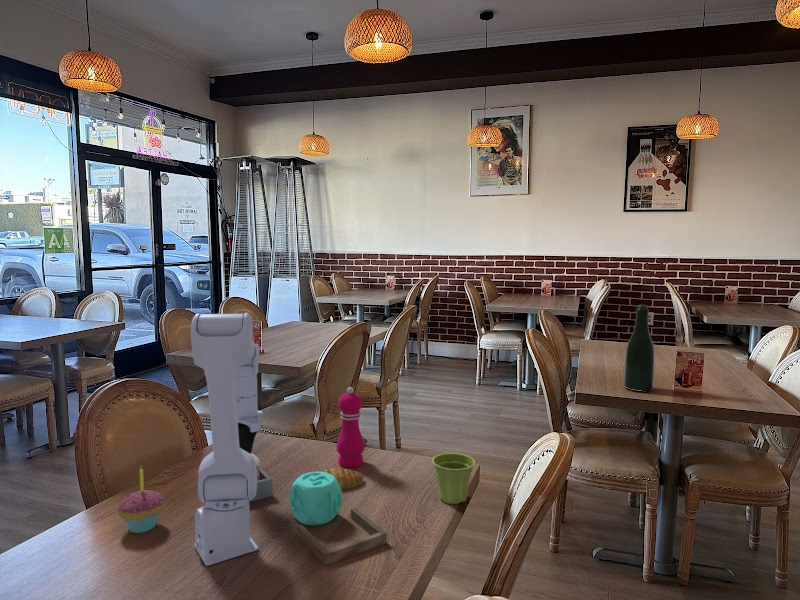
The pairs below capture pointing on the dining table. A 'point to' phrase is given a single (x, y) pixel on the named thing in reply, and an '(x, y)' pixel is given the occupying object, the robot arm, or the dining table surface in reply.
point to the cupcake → (141, 508)
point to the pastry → (346, 477)
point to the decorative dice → (315, 498)
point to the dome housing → (263, 486)
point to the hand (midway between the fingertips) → (245, 454)
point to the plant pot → (453, 476)
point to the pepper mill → (350, 431)
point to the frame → (348, 549)
